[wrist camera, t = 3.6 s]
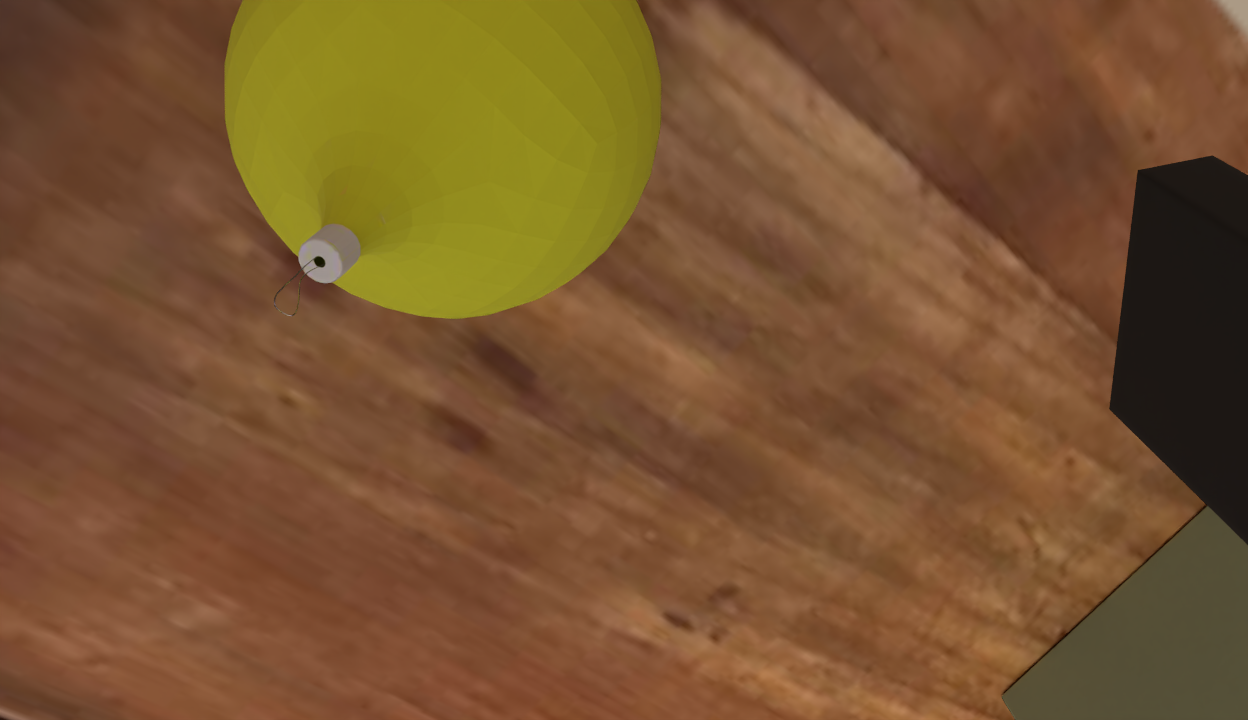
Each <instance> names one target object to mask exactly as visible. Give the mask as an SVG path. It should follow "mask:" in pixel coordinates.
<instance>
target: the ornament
mask: <svg viewBox="0 0 1248 720" xmlns="http://www.w3.org/2000/svg"><path fill="white" fill-rule="evenodd" d="M225 122H226V127H227V132H228V137H229V141H230V146H231V151H232V155H233V158H234V161H235V164H236V166H237V168H238V170H239V172H240V174H241V177H242V179H243V181H244V183H245V186H246V188H247V190H248V192H249V193H250V195H251V197H252V198H253V200H254V201H255V203H256V205H257V206H258V208H259V209H260V211H261V213H262V214H263V216H264V218H265V219H266V221H267V222H268V224H269V225H270V226H271V227H272V228H273V230H274V231H275V232H276V233H277V234H278V235H279V237H280V238H281V239H282V240H283V241H284V242H285V244H286V245H287V246H288V247H289V248H290V249H291V251H292V252H293V253H295V254H296V255H297V256H298V257H299V263H300V265H301V267H302V269H303V271H304V272H305V273H306V274H307V275H308V276H309V277H310V278H312V279H313V280H315V281H317V282H321V283H330V282H332V283H334V284H336V285H337V286H339V287H341V288H342V289H344V290H346V291H347V292H349V293H350V294H352V295H355V296H357V297H360V298H362V299H365V300H367V301H370V302H372V303H375V304H377V305H380V306H382V307H385V308H388V309H393V310H397V311H401V312H406V313H410V314H414V315H419V316H424V317H437V318H451V319H460V318H468V317H476V316H484V315H490V314H493V313H496V312H500V311H503V310H506V309H509V308H512V307H515V306H518V305H522V304H525V303H528V302H531V301H534V300H537V299H539V298H541V297H543V296H544V295H546V294H548V293H550V292H552V291H553V290H555V289H557V288H559V287H560V286H562V285H564V284H566V283H567V282H568V281H570V280H571V279H573V278H574V277H575V276H577V275H578V274H580V273H581V272H582V271H583V270H585V269H586V268H587V267H588V266H589V265H590V264H591V263H592V262H594V261H595V260H596V259H597V258H598V257H599V256H600V255H601V254H603V253H604V252H605V251H606V250H607V249H608V247H609V246H610V245H611V243H612V242H613V241H614V239H615V238H616V237H617V235H618V234H619V233H620V231H621V230H622V228H623V227H624V226H625V224H626V223H627V222H628V220H629V218H630V216H631V215H632V213H633V211H634V210H635V208H636V206H637V204H638V201H639V199H640V197H641V195H642V193H643V190H644V188H645V186H646V184H647V182H648V179H649V177H650V175H651V170H652V166H653V161H654V157H655V152H656V147H657V143H658V138H659V132H660V125H661V77H660V72H659V68H658V63H657V58H656V54H655V49H654V44H653V40H652V36H651V33H650V31H649V29H648V26H647V24H646V22H645V19H644V17H643V15H642V12H641V10H640V8H639V5H638V3H637V1H636V0H243V1H242V3H241V6H240V8H239V10H238V13H237V16H236V18H235V21H234V23H233V26H232V29H231V34H230V39H229V44H228V49H227V55H226V60H225ZM302 269H301V270H302ZM301 270H300V271H301ZM300 271H299V272H300ZM299 272H298V273H299ZM298 273H297V274H296V275H295V276H294V277H293V278H295V277H296V276H297V275H298ZM306 274H304V276H305V275H306ZM304 276H303V277H304ZM303 277H302V278H303ZM293 278H292V279H293ZM302 278H301V280H302ZM292 279H291V280H292ZM291 280H290V281H291ZM301 280H300V283H301ZM290 281H288V282H287V283H286V284H285V285H284V286H283V287H282V288H281V289H280V290H279V291H278V293H279V292H280V291H281V290H282V289H283V288H284V287H285V286H286V285H287V284H288V283H289V282H290ZM300 283H299V294H300ZM278 293H277V294H278ZM277 294H276V296H277ZM276 296H275V298H276ZM275 298H274V305H275ZM298 305H299V296H298ZM298 305H297V309H298ZM275 307H276V305H275ZM276 308H277V307H276ZM297 309H296V312H297ZM277 310H279V309H278V308H277ZM279 311H280V310H279ZM280 312H282V311H280ZM296 312H295V313H294V314H293V315H295V314H296ZM282 313H283V312H282ZM283 314H285V313H283ZM285 315H288V314H285ZM293 315H288V316H293Z"/></svg>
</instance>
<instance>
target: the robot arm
mask: <svg viewBox="0 0 1248 720" xmlns="http://www.w3.org/2000/svg"><path fill="white" fill-rule="evenodd" d="M1109 409H1110V410H1111V411H1112V412H1113V413H1114V414H1115V415H1116V416H1117V417H1118V418H1119V419H1120V420H1121V421H1122V422H1123V423H1124V424H1125V425H1126V426H1127V427H1128V428H1129V429H1130V430H1131V431H1132V432H1133V433H1134V434H1135V435H1136V436H1137V437H1138V438H1139V439H1140V440H1141V441H1142V442H1143V443H1144V444H1145V445H1146V446H1147V447H1148V448H1149V449H1150V450H1152V451H1153V452H1154V453H1155V454H1156V455H1157V456H1158V457H1159V458H1160V459H1161V460H1162V461H1163V462H1164V463H1165V464H1166V465H1167V466H1168V467H1169V468H1170V469H1171V470H1172V471H1173V472H1174V473H1175V474H1176V475H1177V476H1178V477H1179V478H1180V479H1181V480H1182V481H1183V482H1184V483H1185V484H1186V485H1187V486H1188V487H1189V488H1190V489H1191V490H1192V491H1193V492H1194V493H1195V494H1196V495H1197V496H1198V497H1199V498H1200V499H1201V500H1202V501H1203V502H1204V503H1205V504H1206V505H1207V506H1208V507H1209V508H1210V509H1211V510H1213V511H1214V512H1215V513H1216V514H1217V515H1218V516H1219V517H1220V518H1221V519H1222V520H1223V521H1224V522H1225V523H1226V524H1227V525H1228V526H1229V527H1230V528H1231V529H1232V530H1233V531H1234V532H1235V533H1236V534H1237V535H1238V536H1239V537H1240V538H1241V539H1242V540H1243V541H1244V542H1245V543H1246V544H1247V545H1248V175H1246V174H1244V173H1243V172H1241V171H1239V170H1237V169H1236V168H1234V167H1232V166H1230V165H1228V164H1227V163H1225V162H1223V161H1221V160H1220V159H1218V158H1216V157H1214V156H1208V157H1203V158H1198V159H1193V160H1188V161H1183V162H1178V163H1173V164H1168V165H1162V166H1157V167H1152V168H1147V169H1142V170H1138V173H1137V182H1136V190H1135V199H1134V207H1133V215H1132V224H1131V232H1130V241H1129V249H1128V257H1127V266H1126V274H1125V283H1124V291H1123V299H1122V308H1121V316H1120V324H1119V333H1118V341H1117V350H1116V358H1115V366H1114V375H1113V383H1112V392H1111V400H1110V408H1109Z"/></svg>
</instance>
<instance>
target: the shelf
mask: <svg viewBox="0 0 1248 720" xmlns="http://www.w3.org/2000/svg"><path fill="white" fill-rule="evenodd" d="M1002 699H1003V701H1004V702H1005V704H1006V705H1007V707H1008V709H1009V710H1010V712H1011V714H1012V715H1013V717H1014V718H1015V720H1248V545H1247V544H1246V543H1245V542H1244V541H1243V540H1242V539H1241V538H1240V537H1239V536H1238V535H1237V534H1236V533H1235V532H1234V531H1233V530H1232V529H1231V528H1230V527H1229V526H1228V525H1227V524H1226V523H1225V522H1224V521H1223V520H1222V519H1221V518H1220V517H1219V516H1218V515H1217V514H1216V513H1215V512H1214V511H1213V510H1211V509H1210V508H1209V507H1208V506H1207V507H1206V508H1204V509H1203V510H1202V511H1201V512H1200V513H1199V514H1198V515H1197V516H1196V517H1195V518H1194V519H1193V520H1191V521H1190V522H1189V523H1188V524H1187V525H1186V526H1185V527H1184V528H1183V529H1182V530H1181V531H1180V532H1178V533H1177V534H1176V535H1175V536H1174V537H1173V538H1172V539H1171V540H1170V541H1169V542H1168V543H1167V544H1165V545H1164V546H1163V547H1162V548H1161V549H1160V550H1159V551H1158V552H1157V553H1156V554H1155V555H1154V556H1152V557H1151V558H1150V559H1149V560H1148V561H1147V562H1146V563H1145V564H1144V565H1143V566H1142V567H1141V568H1139V569H1138V570H1137V571H1136V572H1135V573H1134V574H1133V575H1132V576H1131V577H1130V578H1129V579H1128V580H1126V581H1125V582H1124V583H1123V584H1122V585H1121V586H1120V587H1119V588H1118V589H1117V590H1116V591H1115V592H1114V593H1112V594H1111V595H1110V596H1109V597H1108V598H1107V599H1106V600H1105V601H1104V602H1103V603H1102V604H1101V605H1099V606H1098V607H1097V608H1096V609H1095V610H1094V611H1093V612H1092V613H1091V614H1090V615H1089V616H1088V617H1086V618H1085V619H1084V620H1083V621H1082V622H1081V623H1080V624H1079V625H1078V626H1077V627H1076V628H1075V629H1073V630H1072V631H1071V632H1070V633H1069V634H1068V635H1067V636H1066V637H1065V638H1064V639H1063V640H1062V641H1060V642H1059V643H1058V644H1057V645H1056V646H1055V647H1054V648H1053V649H1052V650H1051V651H1050V652H1049V653H1047V654H1046V655H1045V656H1044V657H1043V658H1042V659H1041V660H1040V661H1039V662H1038V663H1037V664H1036V665H1034V666H1033V667H1032V668H1031V669H1030V670H1029V671H1028V672H1027V673H1026V674H1025V675H1024V676H1023V677H1021V678H1020V679H1019V680H1018V681H1017V682H1016V683H1015V684H1014V685H1013V686H1012V687H1011V688H1010V689H1009V690H1007V691H1006V692H1005V693H1004V694H1003V695H1002Z"/></svg>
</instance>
